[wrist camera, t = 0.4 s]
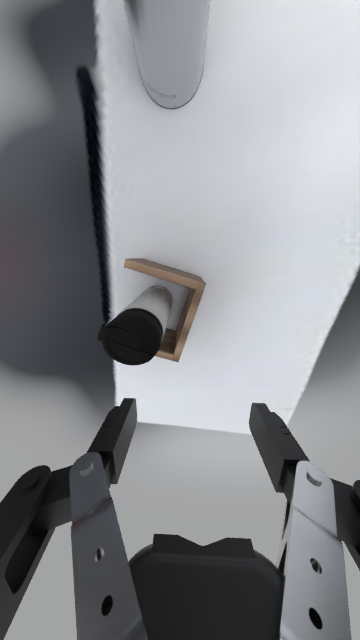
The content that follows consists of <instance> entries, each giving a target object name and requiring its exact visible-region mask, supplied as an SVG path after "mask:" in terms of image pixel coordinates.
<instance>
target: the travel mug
mask: <svg viewBox="0 0 360 640" xmlns="http://www.w3.org/2000/svg"><path fill="white" fill-rule="evenodd" d="M172 302H173V300H172V295H171V293H170V292H169V290H167V289H166V288H165V287H162V286H152V287H150V288H149V289H147V290H146V291H145V292H144V293H143V294H142V295H140V296H139V297H138V298H137V299H136V300H135V301H133V302H132V303H131V304H130V305H129V306H128V307H126V308H125V309H124V310H123V311H122V312H121V313H119V314H118V316H117V317H115V318H114V319H113V320H112V321H111V322H110V323H109V324H108V325H107V326H106V327H105V323H104V324H103V325H102V326H101V328H100V331H99V334H98V340H100V341H102V343H103V347H104V349H105V351H106V352H107V353H108V355H109V356H110V357H112V358H113V359H114V360H116V361H118V362H120V363H122V364H126V365H140V364H144V363H146V362H148V361H150V360H151V359H152V358H153V357H154V355H156V354H157V352H158V351H159V349H160V346H161V342H162V340H163V336H164V333H165V329H166V325H167V321H168V318H169V314H170V310H171V306H172Z"/></svg>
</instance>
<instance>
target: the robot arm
mask: <svg viewBox="0 0 360 640" xmlns="http://www.w3.org/2000/svg"><path fill="white" fill-rule="evenodd" d="M123 2H124V7H125V11H126V15H127V19H128V23H129V28H130V32H131V36H132V40H133V45H134V49H135V53H136V57H137V62H138V66H139V70H140V74H141V78H142V81H143V84H144V87H145V89H146V91H147V93H148V94H149V95H150V97H151V98H152V99H153V100H154V101H155V102H156V103H157V104H159V105H161V106H163V107H166V108H177V107H180V106H182V105H184V104H185V103H187V102H188V101H189V100H190V99H191V98H192V97H193V95H194V94H195V92H196V91H197V89H198V86H199V84H200V81H201V77H202V73H203V65H204V55H205V46H206V36H207V27H208V17H209V7H210V0H123ZM136 422H137V409H136V399H134V398H124V399H123V401H122V403H121V405H120V406H115V407H114V408H113V409H112V410H111V411H110V412H109V413H108V415H107V417H106V419H105V421H104V422H103V424H102V427H101V428H100V430H99V431H98V433H97V435H96V437H95V439H94V441H93V442H92V444H91V446H90V448H89V450H88V451H87V453H86V454H84V455H83V456H81V457H80V458H78V459H77V460H76V462H75V463H74V464H73V465H71V466H69V467H66V468H62V469H59V470H56V471H52V472H51V470H50V468H49V467H48V466H45V465H42V466H37V467H35V468H33V469H31V470H29V471H28V472H26V473H25V474H24V475H22V476H21V477H20V478H19V479H18V481H17V482H16V483H15V484H14V486H13V487H12V488H11V490H10V491H9V492H8V494H7V495H6V496H5V497H4V499H3V500H2V501H1V503H0V640H3V639H4V637H5V635H6V633H7V630H8V628H9V626H10V624H11V622H12V620H13V618H14V616H15V613H16V611H17V609H18V607H19V604H20V603H21V600H22V598H23V596H24V594H25V592H26V590H27V588H28V586H29V583H30V581H31V579H32V577H33V575H34V573H35V570H36V568H37V566H38V564H39V562H40V560H41V558H42V555H43V553H44V551H45V549H46V547H47V545H48V543H49V541H50V538H51V536H52V534H53V532H54V530H55V527H57V526H60V525H62V524H65V523H67V522H70V521H72V526H71V542H72V558H73V559H72V560H73V577H74V593H75V611H76V628H77V640H351V631H350V618H349V608H348V596H347V584H346V573H345V561H344V551H343V545H342V542H341V541H344V542H345V544H346V546H347V548H348V550H349V552H350V554H351V555H352V557H353V559H354V561H355V563H356V564H357V566H358V568H359V570H360V480H357V481H355V483H354V485H353V486H350V485H348V484H345V483H342V482H339V481H336V480H334V479H331V478H329V477H328V475H327V474H326V473H325V472H324V471H323V470H322V469H321V468H320V467H318V466H317V465H315V464H313V463H311V462H310V461H309V459H308V458H307V456H306V455H305V453H304V452H303V450H302V449H301V447H300V446H299V444H298V443H297V441H296V440H295V438H294V437H293V435H291V432H290V431H289V429H288V428H287V426H286V425H285V423H284V422H283V420H282V419H281V418H280V417H279V416H278V415H277V414H276V413H275V412H270V410H269V409H268V407H267V406H266V404H265V403H252V406H251V413H250V419H249V426H250V430H251V433H252V435H253V438H254V440H255V443H256V445H257V447H258V450H259V452H260V455H261V457H262V459H263V462H264V464H265V467H266V469H267V471H268V474H269V476H270V478H271V481H272V483H273V486H274V488H275V491H276V492H280V493H284V494H285V496H286V498H287V502H286V507H285V514H284V521H283V528H282V535H281V542H280V548H279V553H278V557H277V562H276V566H275V565H274V564H273V563H272V562H271V561H270V560H269V559H267V558H266V557H265V556H263V555H262V554H260V553H258V552H257V551H255V550H253V546H252V542H251V539H244V538H224V539H222V540H219V541H217V542H214V543H211V544H209V545H206V546H200V545H198V544H196V543H194V542H192V541H189V540H187V539H185V538H183V537H181V536H179V535H168V534H167V535H166V534H154V538H153V544H151V545H148V546H146V547H145V548H143V549H141V550H140V551H139V552H138V553H136V554H135V555H134V556H133V557H132V558H131V559H130V561H129V562H128V559H127V555H126V551H125V547H124V543H123V540H122V535H121V531H120V527H119V524H118V520H117V515H116V511H115V507H114V504H113V500H112V497H111V495H110V491H109V488H110V485H111V484H117V482H118V479H119V476H120V473H121V470H122V467H123V464H124V461H125V458H126V455H127V452H128V448H129V445H130V442H131V439H132V436H133V433H134V430H135V427H136Z"/></svg>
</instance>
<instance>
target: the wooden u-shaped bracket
mask: <svg viewBox="0 0 360 640" xmlns="http://www.w3.org/2000/svg"><path fill="white" fill-rule="evenodd" d="M124 267H125V268H129V269H132V270H135V271H138V272H141V273H145V274H148V275H151V276H154V277H158V278H161V279H164V280H167V281H170V282H174V283H177V284H180V285H183V286H187V287H190V291H189V294H188V297H187V300H186V303H185V306H184V309H183V312H182V315H181V318H180V321H179V324H178V328H177V331H173V330H170V329H165V333H164V336H163V340H162V342H161V346H160V349H159V351H158V352H157V354H156V355H154V356H157V357H161V358H165V359H168V360H172V361H176V362H179V359H180V356H181V353H182V350H183V347H184V345H185V342H186V339H187V336H188V333H189V330H190V328H191V325H192V322H193V319H194V316H195V314H196V311H197V308H198V305H199V302H200V299H201V297H202V294H203V291H204V288H205V285H206V283H205V282H204V281H203V280H202V279H201V277H199V276H196V275H192V274H189V273H186V272H183V271H180V270H177V269H174V268H170V267H167V266H164V265H161V264H158V263H155V262H151V261H148V260H145V259H125V264H124Z"/></svg>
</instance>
